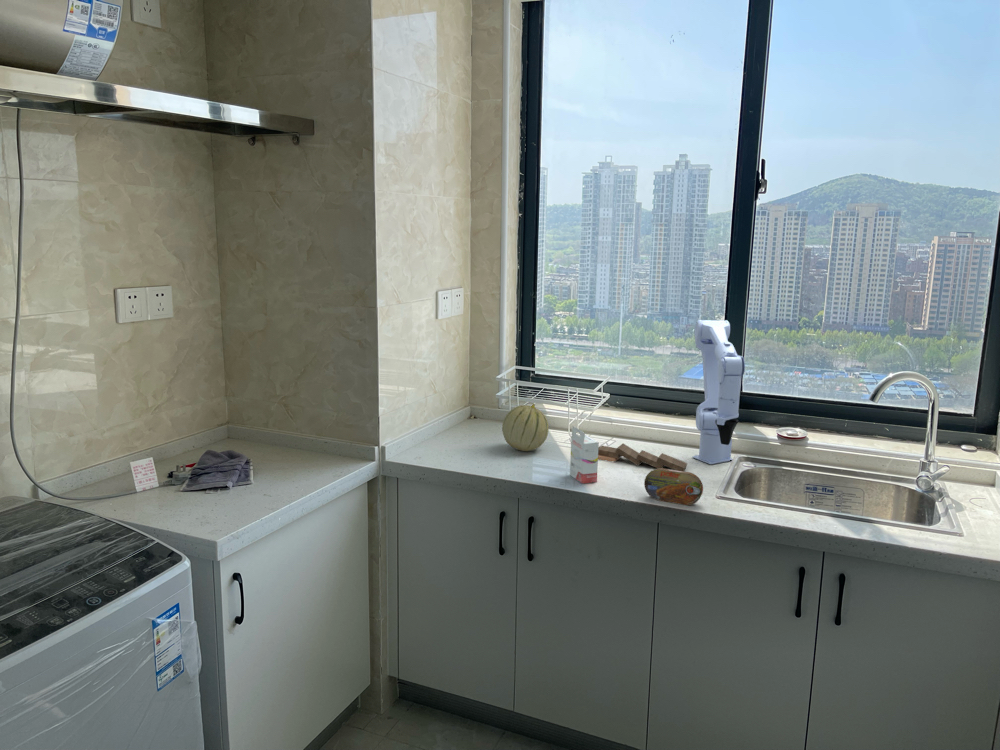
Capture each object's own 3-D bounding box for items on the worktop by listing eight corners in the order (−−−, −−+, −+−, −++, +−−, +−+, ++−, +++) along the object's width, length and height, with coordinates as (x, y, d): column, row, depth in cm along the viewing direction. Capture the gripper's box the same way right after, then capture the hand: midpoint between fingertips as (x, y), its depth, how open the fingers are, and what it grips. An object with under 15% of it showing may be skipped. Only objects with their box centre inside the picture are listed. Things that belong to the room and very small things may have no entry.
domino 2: (620, 454, 229) (595, 450, 232) (615, 458, 224) (590, 455, 228) (619, 459, 229) (595, 455, 233) (615, 463, 225) (590, 460, 228)
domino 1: (625, 449, 228) (602, 445, 233) (618, 453, 224) (594, 448, 229) (625, 454, 229) (601, 450, 233) (618, 458, 225) (594, 453, 229)
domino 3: (645, 456, 225) (623, 443, 228) (640, 461, 221) (617, 447, 224) (643, 461, 226) (620, 447, 229) (637, 465, 222) (615, 451, 224)
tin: (643, 497, 195) (644, 467, 193) (646, 494, 198) (648, 464, 196) (700, 508, 188) (702, 476, 186) (703, 504, 191) (705, 473, 189)
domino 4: (666, 460, 222) (642, 450, 225) (663, 464, 218) (637, 454, 220) (665, 465, 222) (640, 454, 225) (661, 469, 218) (636, 459, 221)
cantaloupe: (492, 450, 235) (493, 404, 232) (521, 440, 245) (522, 397, 242) (528, 460, 225) (529, 412, 222) (557, 449, 236) (558, 404, 233)
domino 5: (687, 463, 219) (662, 453, 222) (684, 468, 215) (658, 457, 218) (685, 468, 220) (660, 457, 223) (682, 472, 215) (656, 462, 218)
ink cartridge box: (598, 482, 206) (600, 431, 203) (582, 484, 204) (584, 433, 201) (584, 473, 214) (586, 424, 211) (568, 474, 212) (570, 425, 209)
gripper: (721, 391, 218) (718, 436, 220) (707, 400, 206) (703, 447, 208) (746, 395, 214) (742, 439, 217) (732, 404, 202) (728, 451, 205)
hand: (725, 443), depth 212 cm, fingers closed
